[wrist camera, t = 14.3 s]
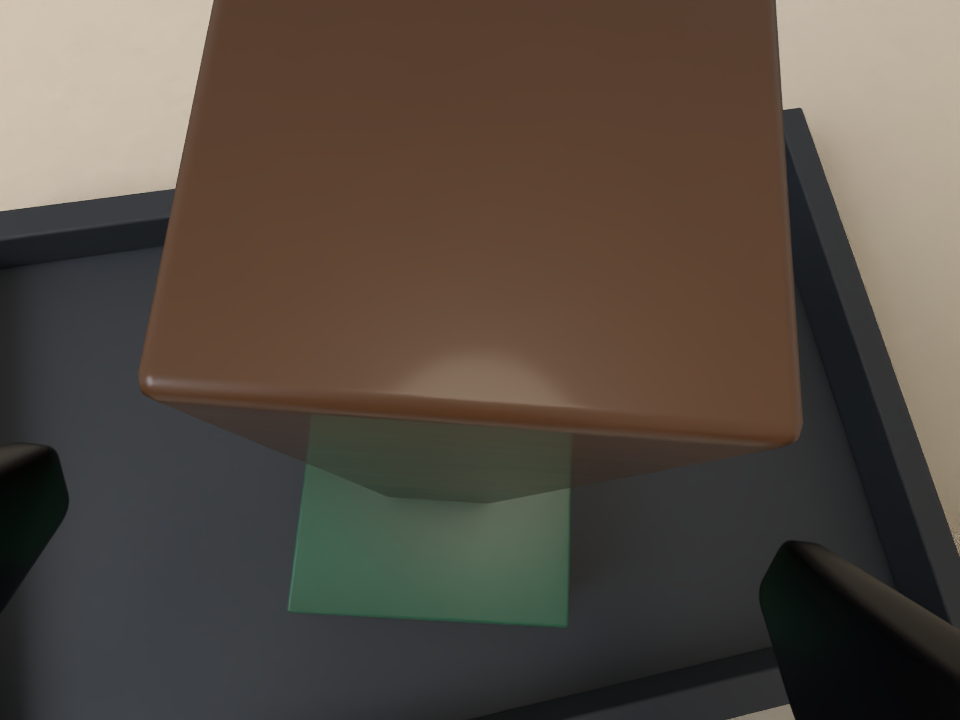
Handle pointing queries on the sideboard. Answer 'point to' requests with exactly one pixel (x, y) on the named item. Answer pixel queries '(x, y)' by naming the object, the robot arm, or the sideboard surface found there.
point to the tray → (404, 642)
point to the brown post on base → (478, 275)
